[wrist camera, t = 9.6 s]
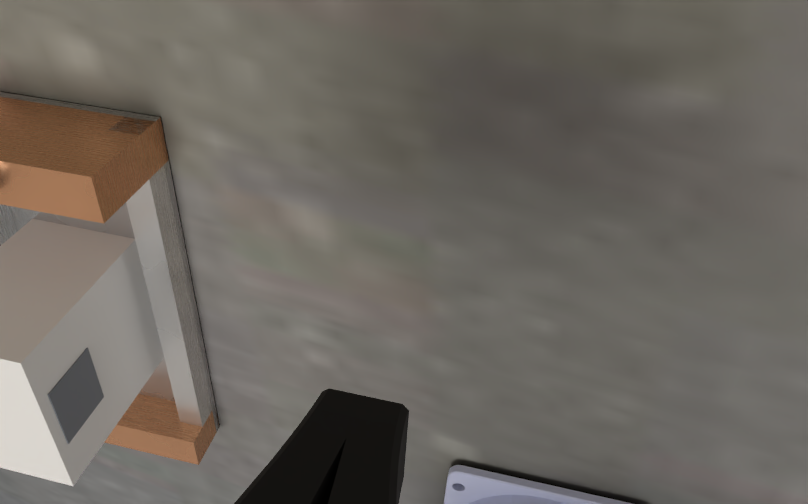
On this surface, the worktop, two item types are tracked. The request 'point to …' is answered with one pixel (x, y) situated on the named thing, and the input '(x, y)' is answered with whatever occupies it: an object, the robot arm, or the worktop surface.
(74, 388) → the block
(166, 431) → the rail
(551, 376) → the worktop surface
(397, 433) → the robot arm
